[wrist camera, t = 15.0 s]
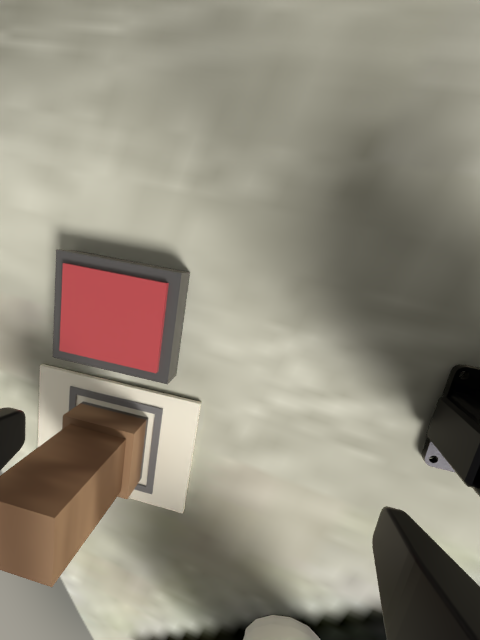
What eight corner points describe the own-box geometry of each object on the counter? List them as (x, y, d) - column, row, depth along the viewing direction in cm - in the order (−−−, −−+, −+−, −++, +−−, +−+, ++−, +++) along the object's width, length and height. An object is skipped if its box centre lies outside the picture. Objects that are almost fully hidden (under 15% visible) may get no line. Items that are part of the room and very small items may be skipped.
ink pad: (189, 272, 18) (179, 273, 17) (176, 375, 20) (165, 386, 18) (73, 250, 19) (52, 249, 18) (69, 350, 21) (49, 358, 19)
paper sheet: (201, 401, 20) (199, 404, 20) (184, 510, 22) (182, 514, 22) (43, 363, 21) (38, 365, 21) (40, 469, 23) (36, 472, 23)
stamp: (148, 417, 21) (65, 511, 13) (141, 478, 22) (61, 598, 14) (83, 401, 21) (-34, 481, 13) (79, 460, 22) (-31, 567, 15)
